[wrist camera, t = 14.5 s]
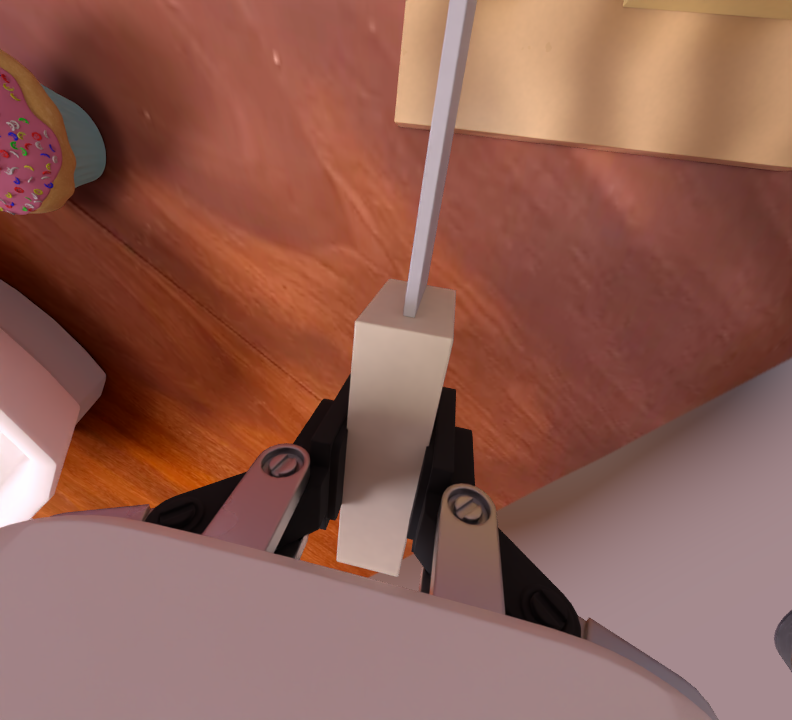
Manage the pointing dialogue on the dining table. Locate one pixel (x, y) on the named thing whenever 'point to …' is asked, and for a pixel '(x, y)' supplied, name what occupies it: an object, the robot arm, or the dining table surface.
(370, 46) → the dining table surface
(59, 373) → the bowl
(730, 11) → the butter
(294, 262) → the dining table surface
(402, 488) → the knife
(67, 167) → the cupcake
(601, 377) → the dining table surface
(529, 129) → the board
